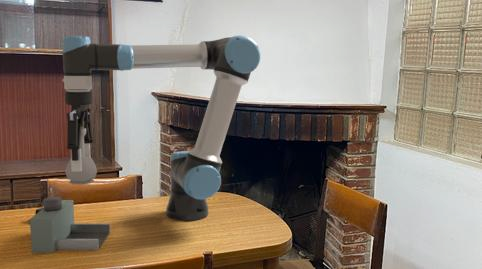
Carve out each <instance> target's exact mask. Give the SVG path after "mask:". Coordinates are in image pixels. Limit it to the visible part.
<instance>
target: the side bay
mask: <svg viewBox="0 0 482 269" xmlns="http://www.w3.org/2000/svg"><path fill="white" fill-rule="evenodd" d="M110 234H111V223H110V222H108V223H107V222H106V223H105V222H104V223H103V222H102V223H101V222H99V223H98V222H97V223H96V222H90V223H89V222H87V223H86V222H74V223H72V224H71V233H70V234H69V235H68V236H67V237H66V238H65V239H56V240H55V243H56V250H55V251H99V249H100V248H101V246H102V245H103V244H104V242H105V241H106V239H108V238H107V237H108V236H109V235H110Z"/></svg>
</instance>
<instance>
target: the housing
mask: <svg viewBox="0 0 482 269" xmlns="http://www.w3.org/2000/svg"><path fill="white" fill-rule="evenodd" d="M42 208H43V209H42V210H41V211H39V212H38V213H37V214H36V215H35V214H34V215H33V216H31V217H30V218H29V220H30V221H29V226H30V228H29V230H30V231H29V232H30V245H31V246H30V247H31V253H32V254H54V253H55V252H56V251H57V250H56V243H55V240H56V239H65V238H66V237H67V236H68V235H69V234H70V233H71V224H72V223H75V211H74V210H75V208H74V200H73V199H62V197H61V196H49V197H46V198H43V207H42Z"/></svg>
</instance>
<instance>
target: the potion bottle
mask: <svg viewBox="0 0 482 269" xmlns="http://www.w3.org/2000/svg"><path fill="white" fill-rule="evenodd" d="M85 134H86V128H84V124H83V126H82V127H81V138H80V148H79V149H81V161H82V171H81V172H72V171H71V158H70V159H69V161H68V162H67V164H66V167H65V170H64V172H65V175H66V176H65V177H66V179H67V180H70V181H69V182H68V183H69V184H71V185H77V186H78V185H79V186H80V185H81V186H82V185H89V184H92V183H93V182H95V180H94V179H95V178H96V177H97V174H98V168H97V165H96V163H95V162H94V160H93V158H92V157H86V156H85V150H84V136H85Z"/></svg>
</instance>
